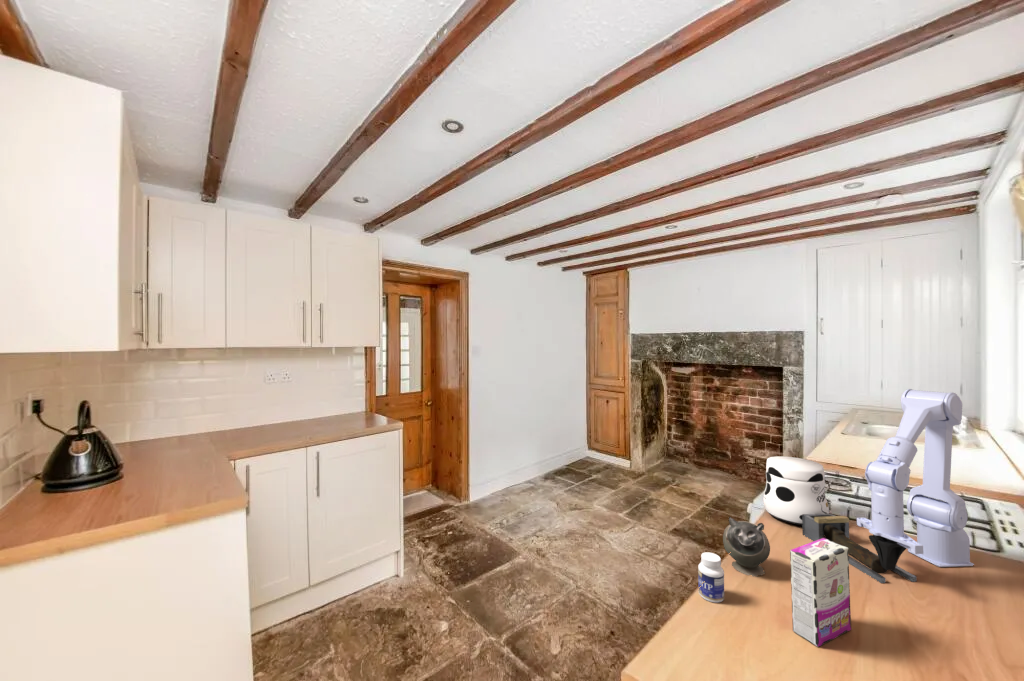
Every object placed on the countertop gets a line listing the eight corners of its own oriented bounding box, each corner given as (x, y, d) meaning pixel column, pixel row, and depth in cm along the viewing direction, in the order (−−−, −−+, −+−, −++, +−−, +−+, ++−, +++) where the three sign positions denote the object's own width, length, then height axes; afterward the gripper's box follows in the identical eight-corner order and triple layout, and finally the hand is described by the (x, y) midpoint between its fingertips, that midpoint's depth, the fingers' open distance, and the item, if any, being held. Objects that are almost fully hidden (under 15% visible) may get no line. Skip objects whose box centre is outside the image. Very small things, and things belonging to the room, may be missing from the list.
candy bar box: (823, 615, 84) (822, 536, 84) (852, 630, 79) (850, 547, 79) (789, 631, 79) (788, 548, 79) (817, 648, 75) (816, 560, 75)
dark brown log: (890, 575, 98) (890, 556, 98) (872, 574, 98) (872, 555, 98) (834, 538, 117) (834, 522, 117) (820, 537, 117) (820, 521, 117)
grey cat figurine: (731, 578, 97) (778, 582, 95) (729, 529, 98) (776, 531, 95) (719, 556, 107) (761, 559, 105) (717, 512, 107) (759, 513, 105)
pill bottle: (693, 592, 92) (692, 553, 92) (709, 586, 94) (709, 548, 94) (713, 606, 87) (712, 565, 87) (729, 599, 89) (729, 559, 89)
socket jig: (831, 533, 119) (831, 509, 119) (916, 581, 95) (916, 551, 95) (802, 534, 118) (802, 510, 118) (880, 583, 94) (880, 552, 95)
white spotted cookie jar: (844, 531, 120) (843, 471, 121) (786, 531, 121) (785, 471, 121) (803, 507, 138) (802, 455, 138) (752, 507, 138) (751, 455, 138)
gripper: (845, 501, 104) (846, 553, 104) (901, 526, 90) (903, 587, 90) (871, 500, 105) (872, 552, 105) (931, 525, 90) (932, 586, 90)
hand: (888, 568), depth 97 cm, fingers closed
